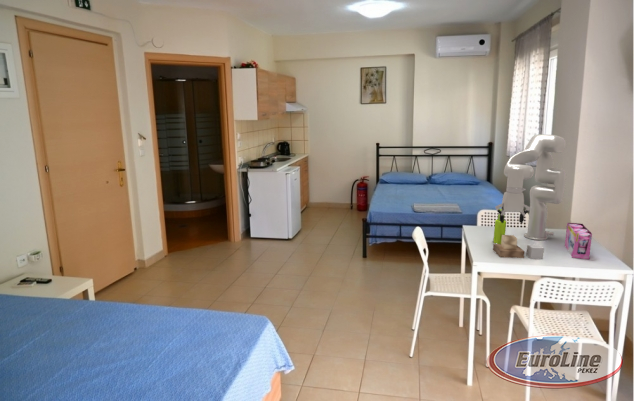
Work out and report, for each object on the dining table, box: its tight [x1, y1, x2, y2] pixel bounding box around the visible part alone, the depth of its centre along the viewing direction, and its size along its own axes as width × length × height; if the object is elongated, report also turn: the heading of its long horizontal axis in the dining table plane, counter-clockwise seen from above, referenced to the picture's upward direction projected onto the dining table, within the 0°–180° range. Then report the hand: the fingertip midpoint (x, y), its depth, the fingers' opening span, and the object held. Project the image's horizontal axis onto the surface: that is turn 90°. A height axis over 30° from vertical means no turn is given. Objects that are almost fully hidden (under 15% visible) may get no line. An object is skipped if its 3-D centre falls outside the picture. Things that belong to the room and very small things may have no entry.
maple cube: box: [501, 234, 518, 249], centre depth 232 cm, size 6×6×6 cm
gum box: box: [564, 222, 593, 260], centre depth 235 cm, size 24×8×14 cm, turn 160°
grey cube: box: [525, 243, 545, 260], centre depth 228 cm, size 6×6×6 cm
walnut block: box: [492, 243, 526, 259], centre depth 233 cm, size 12×12×4 cm
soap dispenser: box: [492, 208, 507, 244], centre depth 251 cm, size 6×7×20 cm
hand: (511, 222), depth 230 cm, fingers open, 9 cm apart
